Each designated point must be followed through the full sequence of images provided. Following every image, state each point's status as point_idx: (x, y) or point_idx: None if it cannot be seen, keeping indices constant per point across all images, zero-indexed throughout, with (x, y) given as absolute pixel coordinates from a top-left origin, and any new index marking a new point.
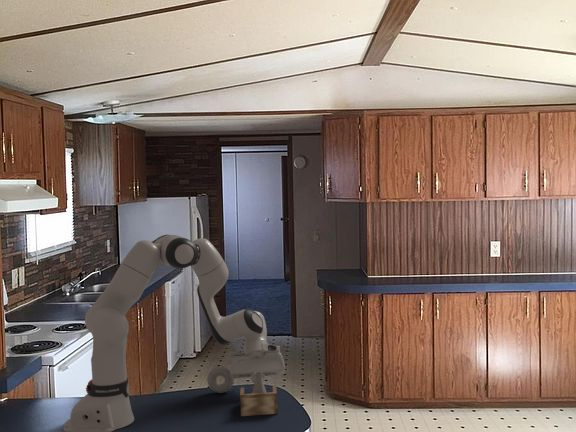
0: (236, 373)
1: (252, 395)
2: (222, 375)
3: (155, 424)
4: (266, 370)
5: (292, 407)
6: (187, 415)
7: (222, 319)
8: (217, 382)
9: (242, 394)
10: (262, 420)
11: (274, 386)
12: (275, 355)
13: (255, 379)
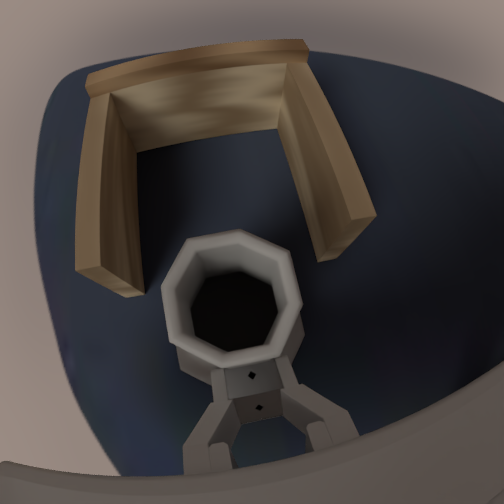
0: (495, 368)
1: (230, 46)
2: None
3: (498, 110)
4: (150, 486)
5: (56, 219)
6: (479, 151)
7: None
8: None
9: (292, 46)
10: None
11: (86, 242)
12: None
13: (264, 276)
